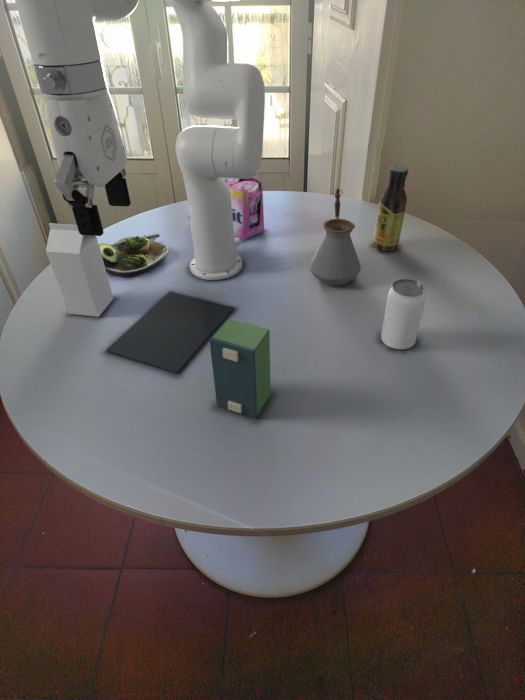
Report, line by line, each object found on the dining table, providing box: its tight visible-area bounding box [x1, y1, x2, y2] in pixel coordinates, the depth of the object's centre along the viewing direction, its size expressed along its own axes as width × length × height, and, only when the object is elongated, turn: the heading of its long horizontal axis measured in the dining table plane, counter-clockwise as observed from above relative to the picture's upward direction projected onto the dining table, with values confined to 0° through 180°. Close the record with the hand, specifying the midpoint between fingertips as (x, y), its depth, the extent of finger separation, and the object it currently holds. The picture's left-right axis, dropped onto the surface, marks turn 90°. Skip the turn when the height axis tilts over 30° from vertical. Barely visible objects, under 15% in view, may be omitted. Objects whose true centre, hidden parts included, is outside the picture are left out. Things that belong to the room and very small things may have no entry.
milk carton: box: [45, 222, 114, 318], centre depth 95 cm, size 7×7×19 cm
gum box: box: [223, 177, 265, 241], centre depth 126 cm, size 24×8×14 cm, turn 45°
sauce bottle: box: [373, 164, 409, 252], centre depth 112 cm, size 7×6×20 cm
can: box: [380, 278, 426, 351], centre depth 86 cm, size 6×6×12 cm
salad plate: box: [98, 233, 170, 278], centre depth 117 cm, size 19×18×5 cm
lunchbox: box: [208, 318, 271, 420], centre depth 74 cm, size 6×7×14 cm
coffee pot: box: [309, 188, 362, 287], centre depth 107 cm, size 21×12×15 cm, turn 174°
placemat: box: [106, 291, 234, 375], centre depth 94 cm, size 22×16×1 cm
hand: (106, 219), depth 65 cm, fingers open, 9 cm apart
